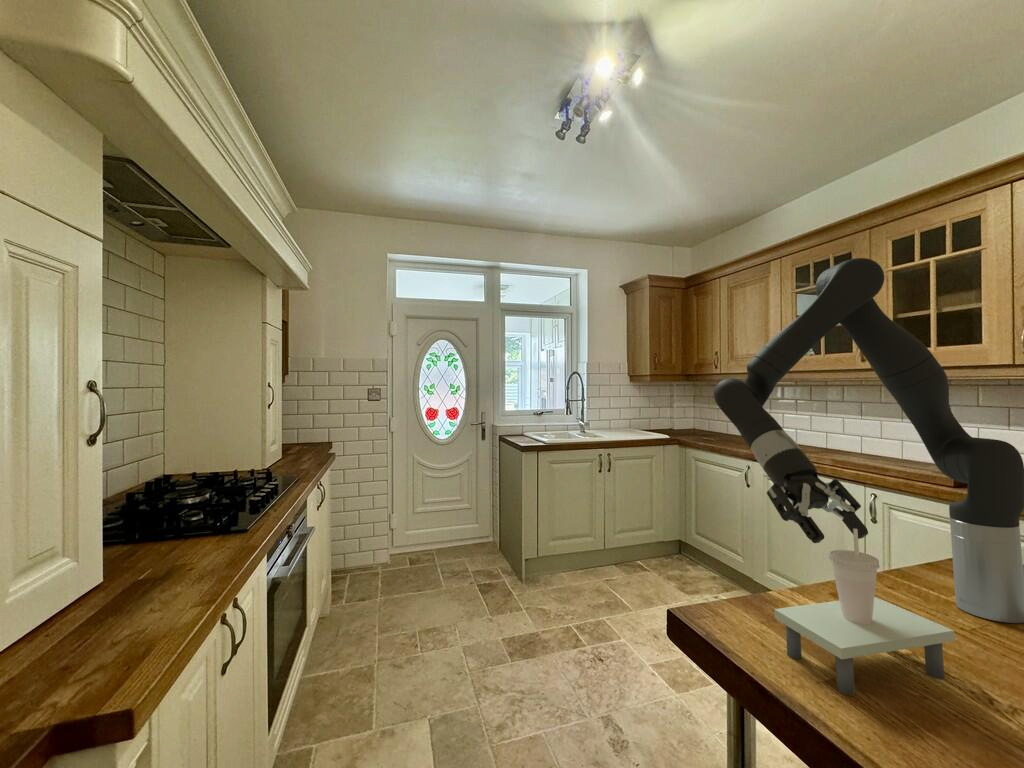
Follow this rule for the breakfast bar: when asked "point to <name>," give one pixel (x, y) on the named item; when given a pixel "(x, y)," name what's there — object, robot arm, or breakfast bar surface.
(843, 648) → the small table
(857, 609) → the smoothie
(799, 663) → the breakfast bar surface
